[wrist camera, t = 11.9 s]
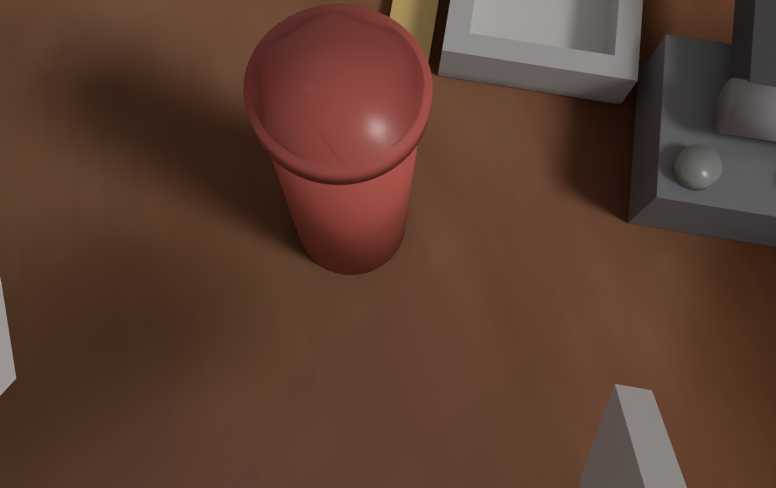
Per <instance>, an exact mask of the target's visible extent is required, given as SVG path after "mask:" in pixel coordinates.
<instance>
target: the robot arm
mask: <svg viewBox="0 0 776 488" xmlns="http://www.w3.org/2000/svg"><path fill="white" fill-rule="evenodd" d="M15 379H16V374H15V368H14V361H13V355H12V348H11V342H10V336H9V329H8V323H7V316H6V310H5V304H4V297H3V291H2V284H1V278H0V395H1V394H2V393H3V392H4V391H5V390H6V389H7V388H8V387H9V386H10V385H11V383H12V382H13V381H14V380H15ZM580 483H581V488H687V487H686V484H685V481H684V479H683V476H682V473H681V470H680V467H679V465H678V462H677V459H676V456H675V454H674V451H673V448H672V445H671V442H670V440H669V437H668V434H667V431H666V428H665V426H664V423H663V420H662V417H661V415H660V412H659V409H658V406H657V403H656V401H655V398H654V395H653V392H652V390H646V389H640V388H635V387H629V386H623V385H617V384H615V385H614V388H613V391H612V393H611V396H610V399H609V401H608V404H607V407H606V409H605V412H604V415H603V418H602V420H601V423H600V426H599V428H598V431H597V434H596V436H595V439H594V442H593V444H592V447H591V450H590V452H589V455H588V458H587V460H586V463H585V466H584V468H583V471H582V474H581V476H580Z"/></svg>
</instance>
